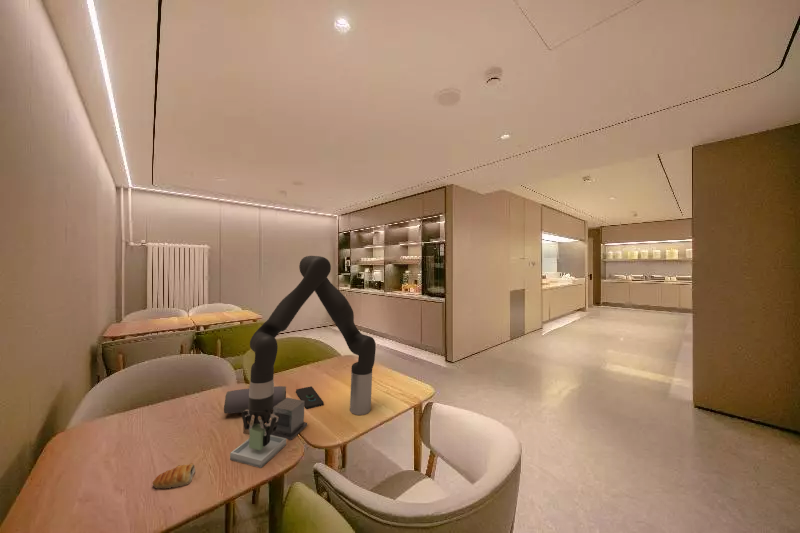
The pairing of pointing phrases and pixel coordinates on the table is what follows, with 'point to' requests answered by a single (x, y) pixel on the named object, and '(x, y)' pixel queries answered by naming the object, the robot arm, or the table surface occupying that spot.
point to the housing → (289, 418)
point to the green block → (256, 437)
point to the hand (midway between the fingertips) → (259, 443)
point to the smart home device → (309, 397)
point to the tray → (258, 452)
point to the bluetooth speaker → (240, 399)
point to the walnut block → (246, 430)
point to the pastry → (175, 477)
